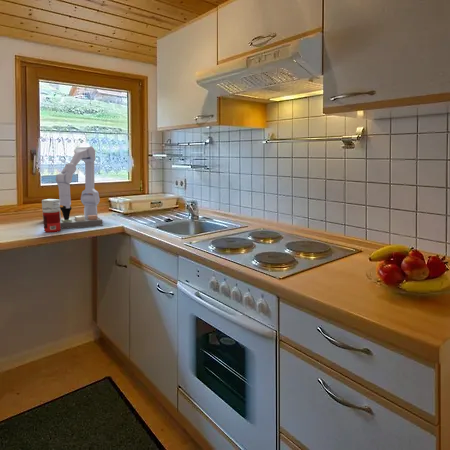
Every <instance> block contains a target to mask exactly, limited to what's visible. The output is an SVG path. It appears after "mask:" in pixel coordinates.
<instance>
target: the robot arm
mask: <svg viewBox="0 0 450 450" xmlns="http://www.w3.org/2000/svg"><path fill="white" fill-rule="evenodd" d="M73 152H74V155H73V156H72V158H71V159H70V160H71V161H70V162H67V163H66V164H65V166H64V167H63V169H62V170H61V172H60V173H57V175H55V182H56V184H57V187H58V196H59V197H58V198H59V199H60V203H58V205H60V212H61V213H62V217H63V219H64V220H69V219H70V216H71V215H70V214H71V211H72V209H73V208H72V206H71V205H72V198H71V197H72V196H71V186H70V185H71V183H72V181H73V175H74V174H75V172H76V170H77V165H78V164H79V163H80V162H81V161H83V162H84V169H85V170H84V171H85V172H84V175H85V177H84V179H85V180H84V184H85V186H84V187H85V189H84V190H82V192H81V195H80V202H81V203H82V205H83V206H84V208H83V216H84V217H85V218H88V215H97V217H98V205H99V204H100V201H101V199H100V194H99V191H98V190H97V189H95V161H96V150H95V148H94V146H92V145H89V146H88V145H87V146H86V145H85V146H82V145H81V146H79V145H78V146H75V149H74V151H73ZM98 218H99V217H98Z"/></svg>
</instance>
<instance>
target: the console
mask: <svg viewBox="0 0 450 450" xmlns="http://www.w3.org/2000/svg"><path fill="white" fill-rule="evenodd" d="M70 219H71V220H72V221H70V222H62V219H61V220H60V225H61V229H62V230H64V229H75V228H84V227H85V228H86V227H97V226H98V227H99V226H103V224H104V223H103V222H104V220H103V219H101V218H100V217H97V219H95V220H88V218H85V220H82V221H75V218H70Z"/></svg>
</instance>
